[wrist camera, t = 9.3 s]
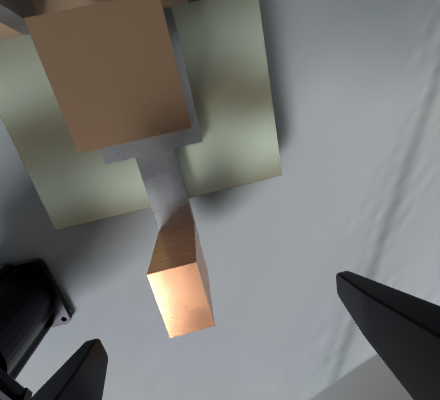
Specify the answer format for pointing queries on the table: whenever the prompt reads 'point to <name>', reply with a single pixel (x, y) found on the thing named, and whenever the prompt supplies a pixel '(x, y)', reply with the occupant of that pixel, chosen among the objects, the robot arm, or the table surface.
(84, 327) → the table surface
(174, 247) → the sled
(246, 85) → the tunnel
